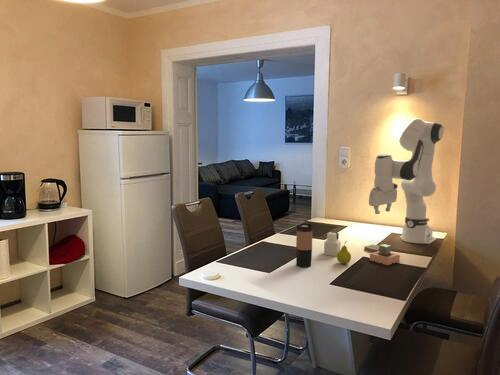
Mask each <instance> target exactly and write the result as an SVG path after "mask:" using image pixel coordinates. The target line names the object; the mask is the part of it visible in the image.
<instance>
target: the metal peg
mask: <svg viewBox="0 0 500 375" xmlns="http://www.w3.org/2000/svg"><path fill="white" fill-rule="evenodd" d="M378 246H379V255H382V256H386V257H388V256H390V252H391V251H392V250H391V249H392V248H391V246H392V245H391V244H390V245H389V244H385V243H383V244H379V245H378ZM391 253H392V252H391Z"/></svg>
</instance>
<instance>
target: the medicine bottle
mask: <svg viewBox="0 0 500 375" xmlns="http://www.w3.org/2000/svg"><path fill="white" fill-rule="evenodd" d="M339 235H340V234H339V232H337V231H328V232H327V233H326V240H325V241H324V243H323V244H324V246H323V255H324V256H330V257H337V253H338V252H339V251H340V250H341V247H342V246H341V244H342V243H341V240H340V239H339Z"/></svg>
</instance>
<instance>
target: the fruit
mask: <svg viewBox="0 0 500 375" xmlns="http://www.w3.org/2000/svg"><path fill="white" fill-rule="evenodd" d="M346 243H347V240H346V241H345V242H344V245H342V246H341V247H340V251H339V252H338V253H337V256H336V260H337V261H338V262H339V263H340V264H342V265H346V264H348V263H350V261H351V260H352V255H351V253H350V252H349V251H348V247H347V246H346V245H345V244H346Z"/></svg>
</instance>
